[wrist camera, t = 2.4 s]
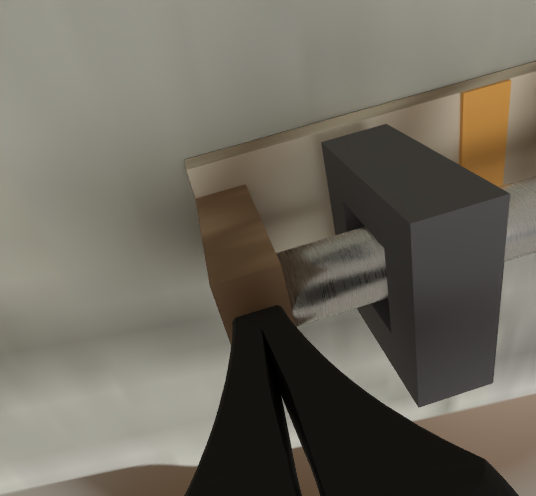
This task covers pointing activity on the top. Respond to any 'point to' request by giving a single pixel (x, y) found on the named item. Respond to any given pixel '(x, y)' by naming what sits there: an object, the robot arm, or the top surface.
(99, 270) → the top surface
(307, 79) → the top surface
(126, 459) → the top surface
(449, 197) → the collar
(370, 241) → the pipe stand
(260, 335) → the robot arm
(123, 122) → the top surface
